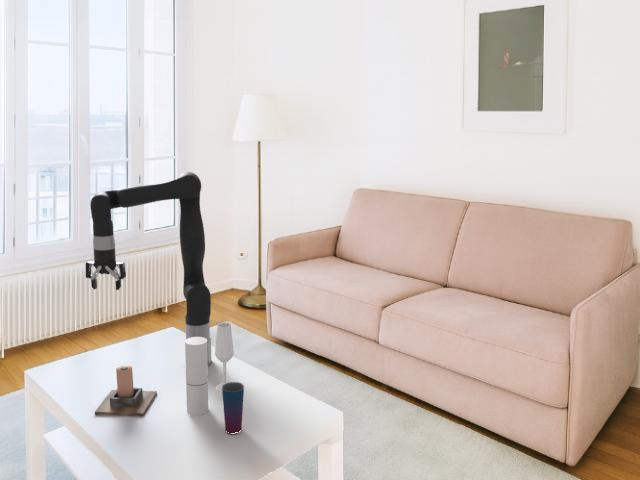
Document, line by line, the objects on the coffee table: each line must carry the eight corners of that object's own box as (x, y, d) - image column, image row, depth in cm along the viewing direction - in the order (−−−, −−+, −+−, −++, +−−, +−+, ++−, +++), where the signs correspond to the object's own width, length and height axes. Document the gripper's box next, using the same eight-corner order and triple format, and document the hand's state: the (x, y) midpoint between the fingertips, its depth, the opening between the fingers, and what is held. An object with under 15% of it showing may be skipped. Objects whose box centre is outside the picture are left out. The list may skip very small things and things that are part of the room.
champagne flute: (216, 383, 233) (215, 321, 227) (234, 382, 233) (233, 321, 228) (215, 391, 226) (214, 328, 221) (233, 391, 227) (233, 328, 221)
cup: (223, 425, 203) (222, 382, 200) (244, 424, 204) (244, 381, 200) (221, 436, 197) (221, 392, 193) (243, 435, 197) (243, 391, 194)
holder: (156, 393, 223) (156, 383, 222) (143, 416, 208) (142, 405, 207) (111, 392, 224) (111, 381, 223) (94, 414, 208) (94, 403, 207)
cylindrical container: (211, 406, 215) (209, 337, 210) (205, 416, 208) (203, 345, 203) (190, 404, 216) (188, 336, 210) (184, 415, 209) (182, 344, 204)
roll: (136, 397, 218) (134, 364, 215) (131, 404, 213) (129, 371, 210) (121, 397, 218) (118, 364, 215) (116, 404, 213) (113, 371, 210)
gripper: (80, 248, 228) (83, 291, 232) (120, 249, 228) (122, 292, 231) (88, 244, 235) (91, 285, 239) (126, 245, 235) (128, 286, 239)
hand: (106, 289), depth 235 cm, fingers open, 8 cm apart
